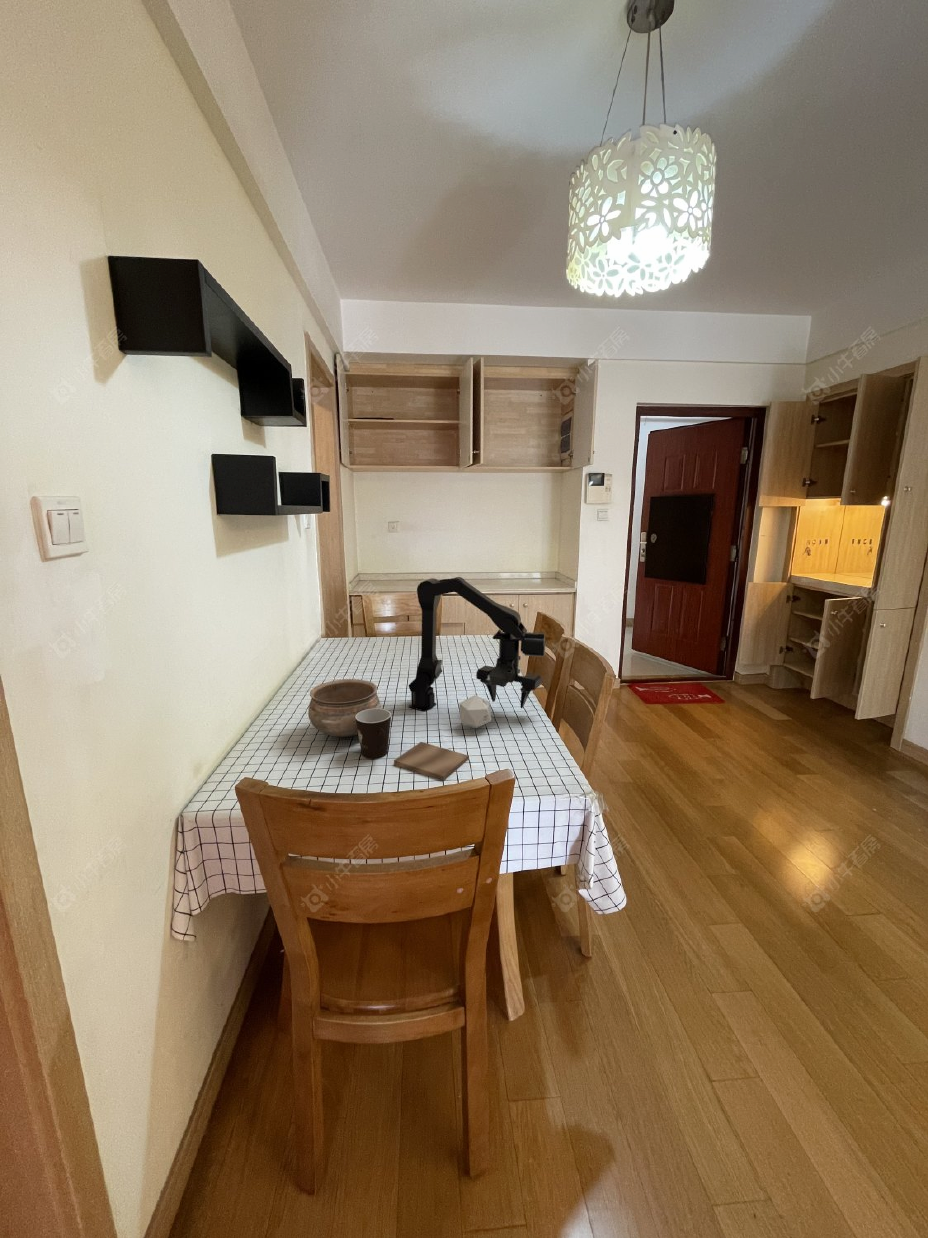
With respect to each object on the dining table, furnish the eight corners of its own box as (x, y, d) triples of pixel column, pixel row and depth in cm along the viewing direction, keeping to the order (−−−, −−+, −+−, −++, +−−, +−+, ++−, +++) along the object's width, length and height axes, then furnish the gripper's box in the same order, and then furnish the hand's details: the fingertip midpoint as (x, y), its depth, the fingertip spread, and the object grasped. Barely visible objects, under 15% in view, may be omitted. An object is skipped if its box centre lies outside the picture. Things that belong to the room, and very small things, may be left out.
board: (394, 765, 115) (394, 760, 114) (421, 746, 124) (420, 741, 124) (443, 781, 108) (443, 776, 107) (468, 760, 117) (468, 755, 117)
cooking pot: (332, 712, 145) (329, 673, 142) (393, 716, 142) (391, 676, 139) (291, 752, 121) (287, 706, 118) (363, 757, 118) (361, 711, 115)
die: (488, 737, 129) (489, 702, 127) (456, 734, 131) (456, 699, 128) (493, 723, 137) (493, 690, 135) (462, 721, 139) (462, 688, 137)
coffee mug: (359, 745, 124) (357, 709, 122) (393, 744, 125) (392, 707, 123) (353, 768, 113) (351, 729, 111) (390, 767, 114) (389, 727, 111)
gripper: (467, 656, 137) (466, 707, 141) (528, 666, 128) (526, 721, 132) (485, 647, 147) (484, 695, 150) (543, 656, 138) (541, 707, 141)
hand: (507, 704), depth 143 cm, fingers open, 9 cm apart
